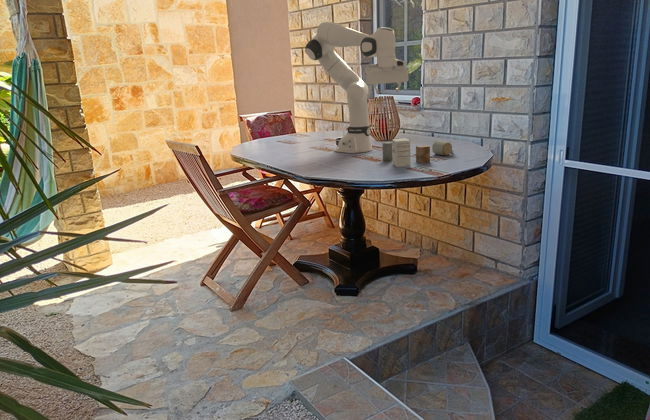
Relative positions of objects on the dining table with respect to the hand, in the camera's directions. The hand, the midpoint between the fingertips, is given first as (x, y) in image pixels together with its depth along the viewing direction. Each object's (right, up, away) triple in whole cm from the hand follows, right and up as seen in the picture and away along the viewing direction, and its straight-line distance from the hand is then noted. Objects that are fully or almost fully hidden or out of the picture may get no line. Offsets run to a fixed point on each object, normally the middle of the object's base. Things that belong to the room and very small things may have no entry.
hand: (387, 93), depth 242 cm
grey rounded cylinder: (+2, -31, +18) cm, 36 cm away
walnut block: (+19, -33, +8) cm, 38 cm away
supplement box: (+7, -35, +5) cm, 36 cm away
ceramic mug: (+33, -27, +23) cm, 48 cm away
